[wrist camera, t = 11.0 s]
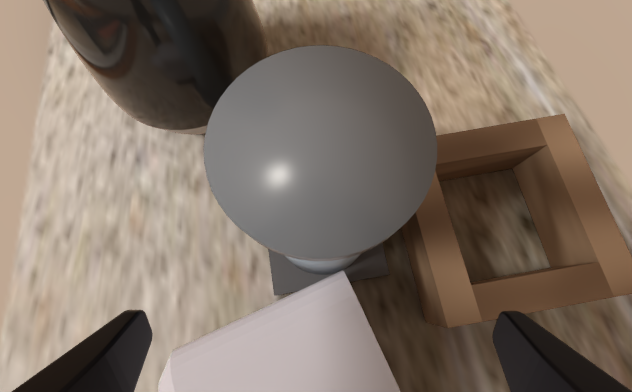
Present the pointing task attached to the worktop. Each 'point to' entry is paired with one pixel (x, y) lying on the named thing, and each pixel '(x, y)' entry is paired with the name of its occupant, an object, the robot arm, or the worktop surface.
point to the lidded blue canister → (320, 154)
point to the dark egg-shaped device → (164, 53)
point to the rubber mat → (296, 279)
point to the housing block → (547, 214)
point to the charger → (287, 349)
